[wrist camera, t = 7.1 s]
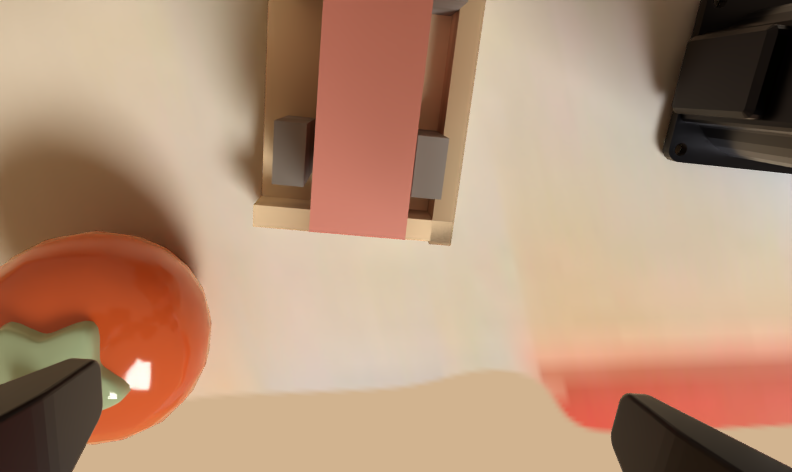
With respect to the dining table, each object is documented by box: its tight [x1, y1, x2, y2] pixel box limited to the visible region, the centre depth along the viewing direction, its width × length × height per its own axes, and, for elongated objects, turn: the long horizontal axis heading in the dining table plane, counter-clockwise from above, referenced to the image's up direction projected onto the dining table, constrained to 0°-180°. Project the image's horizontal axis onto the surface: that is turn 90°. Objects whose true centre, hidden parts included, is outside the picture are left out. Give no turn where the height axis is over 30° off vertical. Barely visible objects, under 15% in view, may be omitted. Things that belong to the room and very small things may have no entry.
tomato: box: [0, 231, 211, 445], centre depth 17 cm, size 7×7×8 cm
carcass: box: [253, 0, 486, 246], centre depth 17 cm, size 7×12×4 cm, turn 174°
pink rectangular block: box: [309, 0, 433, 240], centre depth 15 cm, size 9×2×6 cm, turn 174°
